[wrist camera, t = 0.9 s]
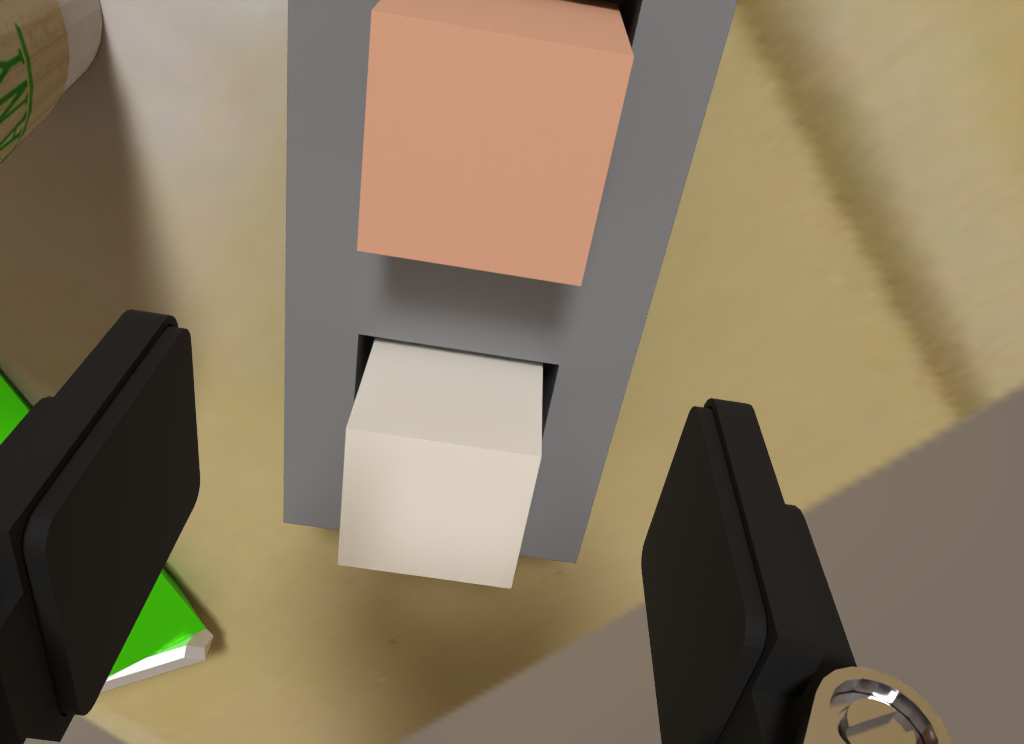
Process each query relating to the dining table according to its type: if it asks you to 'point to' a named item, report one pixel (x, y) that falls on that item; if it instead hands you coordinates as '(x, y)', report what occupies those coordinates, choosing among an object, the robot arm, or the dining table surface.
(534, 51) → the terracotta key
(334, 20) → the key panel
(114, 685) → the green triangular piece
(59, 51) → the coffee cup
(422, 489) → the cream key
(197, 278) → the dining table surface
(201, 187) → the dining table surface
